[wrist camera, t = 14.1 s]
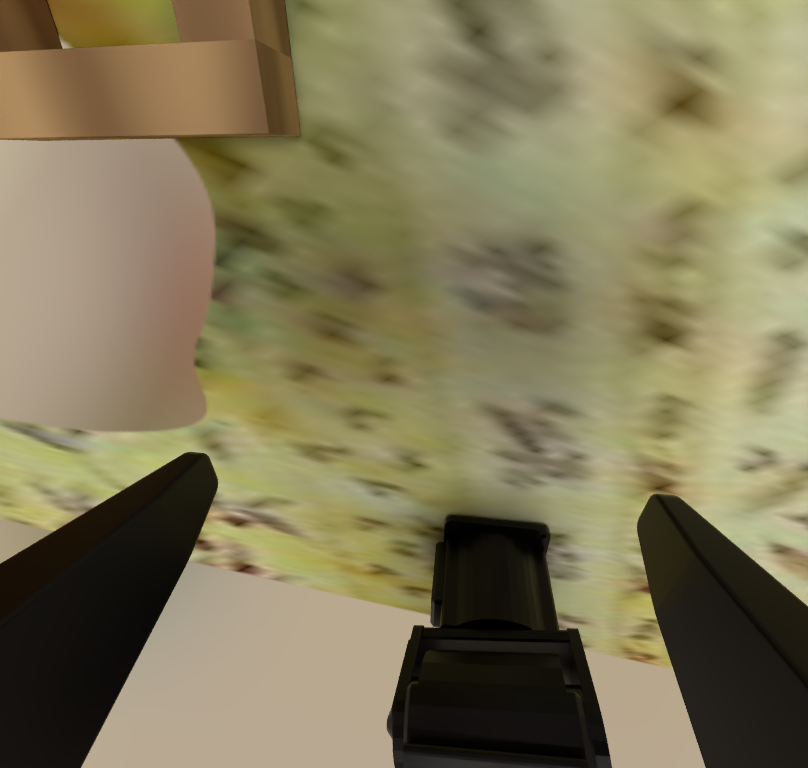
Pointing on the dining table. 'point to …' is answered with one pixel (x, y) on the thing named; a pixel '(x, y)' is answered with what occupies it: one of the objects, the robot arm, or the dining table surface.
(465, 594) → the robot arm
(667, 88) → the dining table surface
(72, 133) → the brown wooden square frame
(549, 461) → the dining table surface
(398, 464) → the dining table surface
